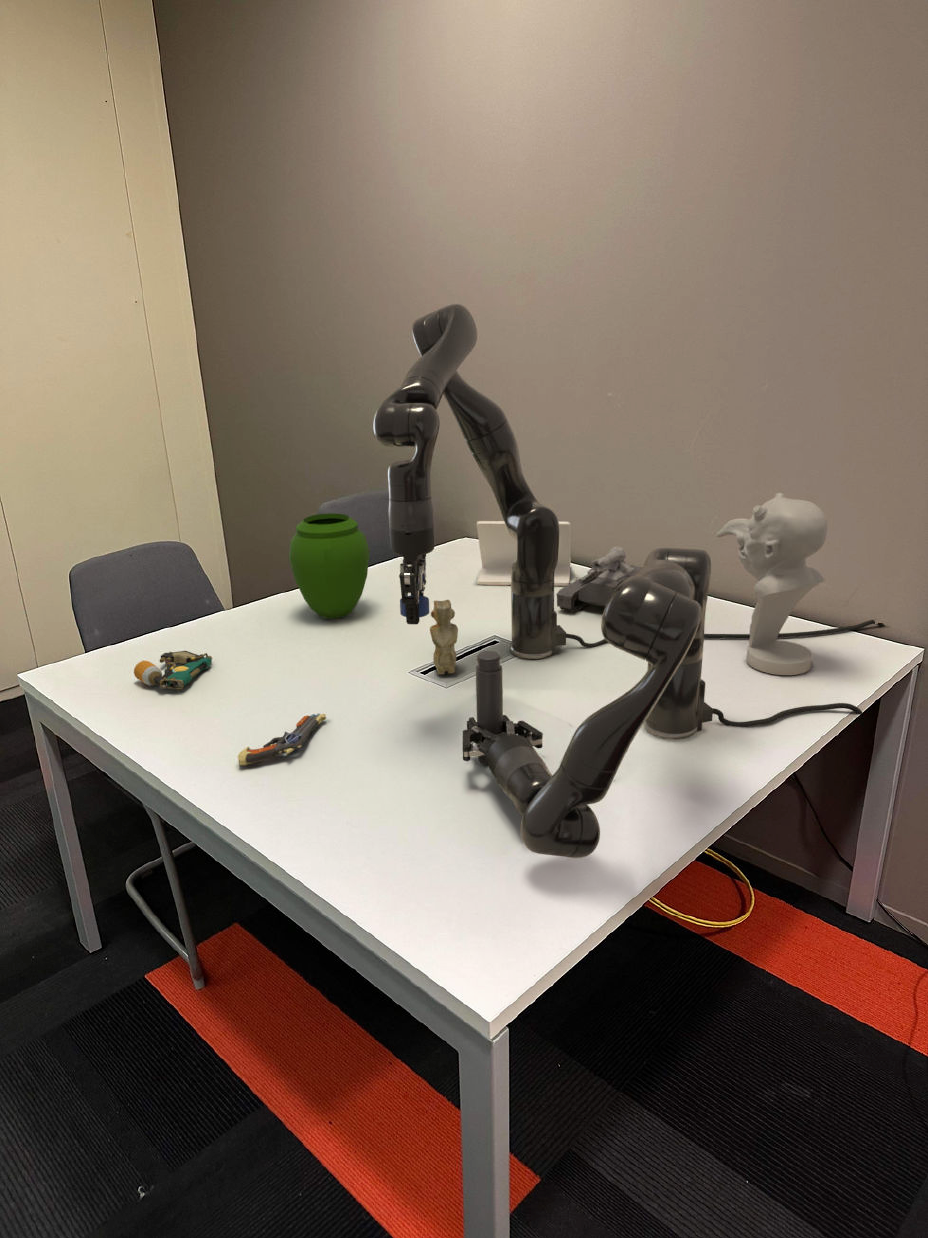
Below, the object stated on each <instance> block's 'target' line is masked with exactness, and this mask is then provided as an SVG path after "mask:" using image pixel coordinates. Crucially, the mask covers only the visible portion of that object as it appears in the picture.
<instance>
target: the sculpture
mask: <svg viewBox="0 0 928 1238" xmlns="http://www.w3.org/2000/svg"><path fill="white" fill-rule="evenodd" d="M455 615H456V611H455V609H453V608H452V602H451V601H450V599H445V600H433V610H431V612H430V617H431V618H432V619H433V620H434V621H435V622H436V623H435V624H433V625H431V626H429V633H430V636H431V640H432V641H431V642H432V643H433V645H434V648H435V649H434V652H433V656H432V657H433V659H432V660H433V665H434V667H435V668H436V671H437V674H438V675H445V674H446V672H447V673H448V674H455V673H456V666H457V665H456V663H457V652H456V649H455V644H456V643H457V642H458V637H459V635H458V634H459V627H458V626H457V624H455V623H453V622H451V621H452V620H453V619H454V618H455Z"/></svg>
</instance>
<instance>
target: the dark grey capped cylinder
mask: <svg viewBox="0 0 928 1238" xmlns="http://www.w3.org/2000/svg"><path fill="white" fill-rule="evenodd" d="M501 658H502V657H501V654H500V653H499V652H497V651H493V650H486V651H481V652H479V653H478V654H477V655H476V661H477V665H476V666H475V699H476V701H475V703H476V722H477V723H478V725H479V728H481V729H482V730H485V729H486V730H488V731H489V732H491V733H492V734H500V733H503V715H504V700H503V699H504V696H503V695H504V693H503V692H504V691H503V689H504V687H503V686H504V685H503V666H502V665H501ZM477 748H479V746H478V745H477ZM477 762H478V764H480V765H483V766H486V767H488V765H487V763H486V761H484V760H482V759H481V758H480V757H479V756H477Z"/></svg>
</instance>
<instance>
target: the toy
mask: <svg viewBox="0 0 928 1238" xmlns="http://www.w3.org/2000/svg"><path fill="white" fill-rule="evenodd" d="M626 557H627V556H626V551H625V549H624V548H622V547H621V546H614V547H612V548H611V549H610V550H609V552H608V553H607V554H605V555H604V556H601V557H599V558H598V559H597V557H596V558H594V559H593V560H592V561H590V562H589V563H590V564H591V565H592V567H591V568H590V569H589V570H587V573H586V575H584V576H582V577H580V578H578V579H577V580H575V581H573V582H570V583H569V585H567V586H563V587H562V588H560V589H559V590H558V591H557V592H556V607H558V608H559V609H560V610H562V611H566V612H572V613H575V612H577V611H579V610H581V609H582V608H585V607H586V606H588V605H592V606H598V607H602V608H603V607H604V608H605V607H606V604H607V602H608V600H609V599H610V597H611V595H612V594H613V592H614V591H615V590H616V588H617V587H618V586H619V585H620V584H621V583H622V582H623V581H624V580H626V579H627V578H629V577H630V576H633V575H636V574H637V573H638V572H639V571H640V570H641V569H642V568H643V567H641V566H635V565H629V564H628V563H627V562H626V561H625V559H626Z"/></svg>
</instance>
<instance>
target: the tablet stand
mask: <svg viewBox="0 0 928 1238" xmlns="http://www.w3.org/2000/svg"><path fill="white" fill-rule="evenodd" d="M558 522H559V552H558V563H557V566H556V568H555V572H554V587H556V586H557V587H566V586H567V585H569V584H570V580H571V579H570V578H571V565H572V564H571V560H572V558H571V522H569V521H558ZM476 531H477V537H478V544H479V551H480V557H481V558H480V559H481V570H480V573H479V575H478V577H477V580H476V581H477V582H476V584H478V585H484V586H485V585H486V586H487V585H489V586H490V585H491V586H511V566H512V564H513V563H514V562H516V561H517V541H516V540H515V539H514V538H513V537H512V536H511V535H510V534H509V532H508V530H507V528H506V525H505V523H504V520H477V522H476Z"/></svg>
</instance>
